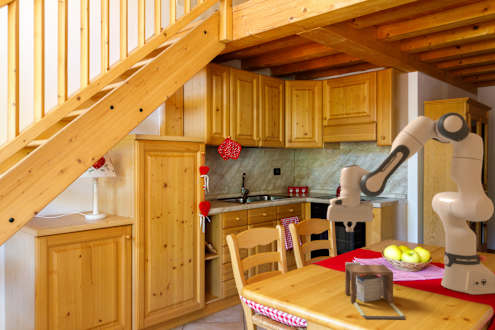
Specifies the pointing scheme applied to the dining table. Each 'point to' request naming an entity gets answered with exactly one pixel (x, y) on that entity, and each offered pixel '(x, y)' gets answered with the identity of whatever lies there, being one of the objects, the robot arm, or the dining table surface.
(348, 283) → the tunnel
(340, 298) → the dining table surface
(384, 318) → the dark grey bar
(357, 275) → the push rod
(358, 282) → the medicine box
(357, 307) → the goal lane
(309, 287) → the dining table surface
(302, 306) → the dining table surface
